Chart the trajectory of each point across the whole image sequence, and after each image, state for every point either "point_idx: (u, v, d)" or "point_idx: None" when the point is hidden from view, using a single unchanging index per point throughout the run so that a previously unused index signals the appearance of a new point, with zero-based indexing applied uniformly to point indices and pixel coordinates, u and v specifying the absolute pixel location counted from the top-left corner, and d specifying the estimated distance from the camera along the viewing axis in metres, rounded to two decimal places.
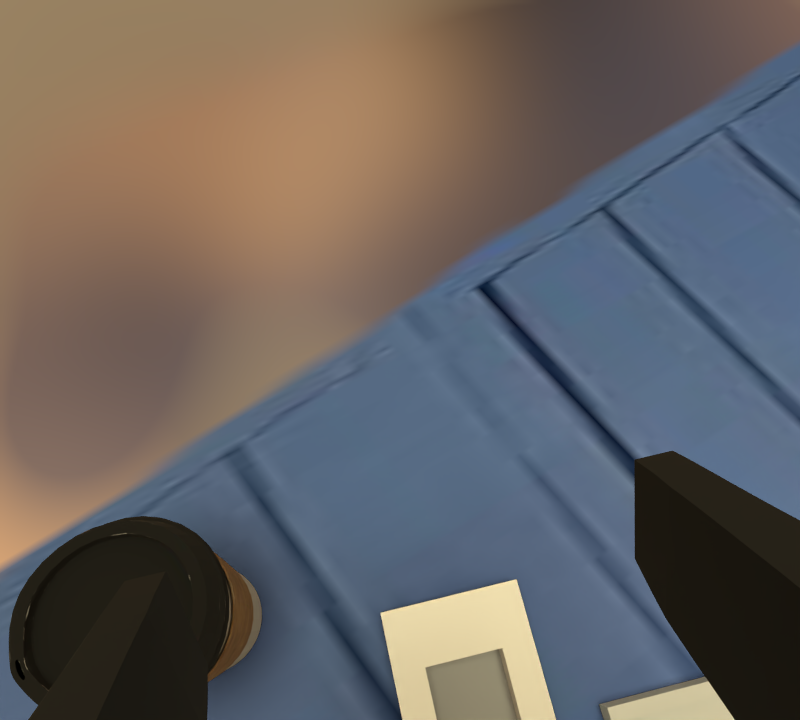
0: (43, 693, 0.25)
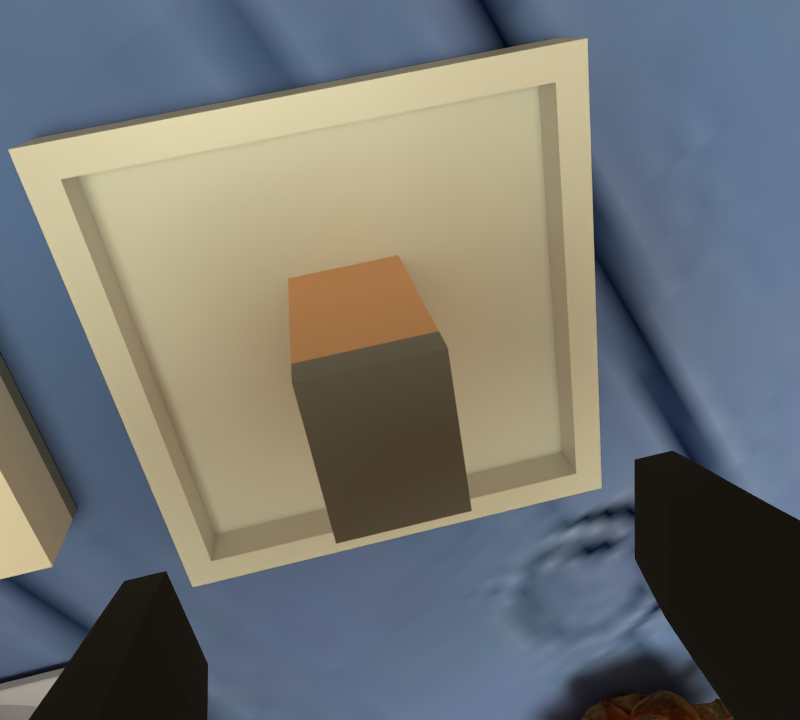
0: None
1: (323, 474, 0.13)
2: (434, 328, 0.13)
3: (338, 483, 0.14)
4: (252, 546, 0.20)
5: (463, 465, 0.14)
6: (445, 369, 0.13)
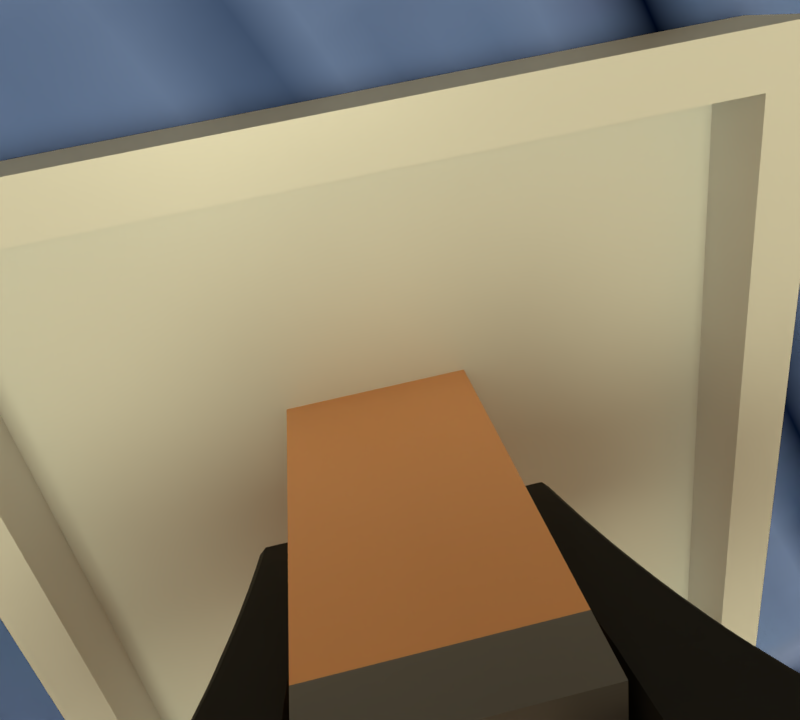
0: None
1: None
2: (579, 598, 0.07)
3: None
4: None
5: None
6: (617, 716, 0.06)
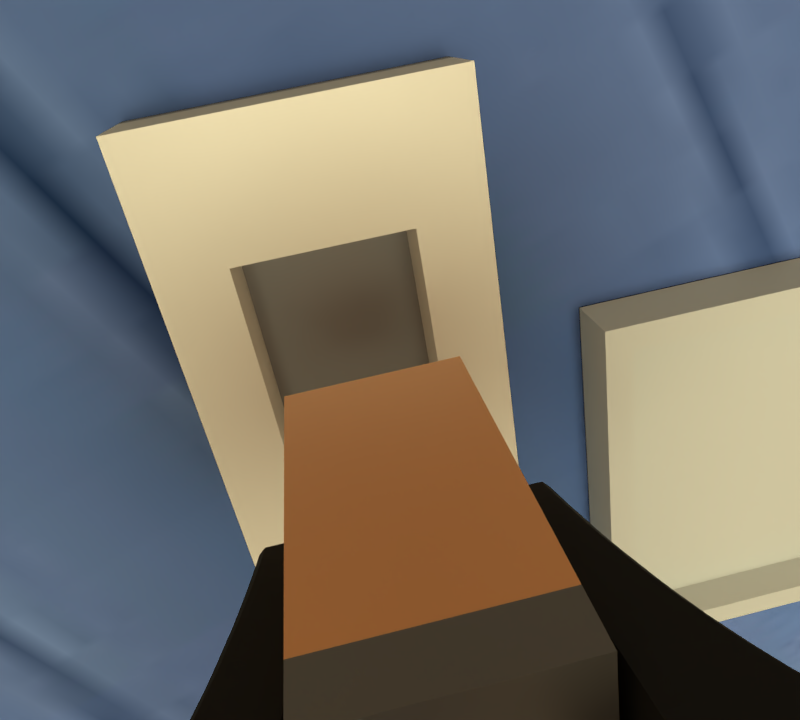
0: None
1: None
2: (570, 574, 0.07)
3: None
4: None
5: None
6: (607, 687, 0.06)
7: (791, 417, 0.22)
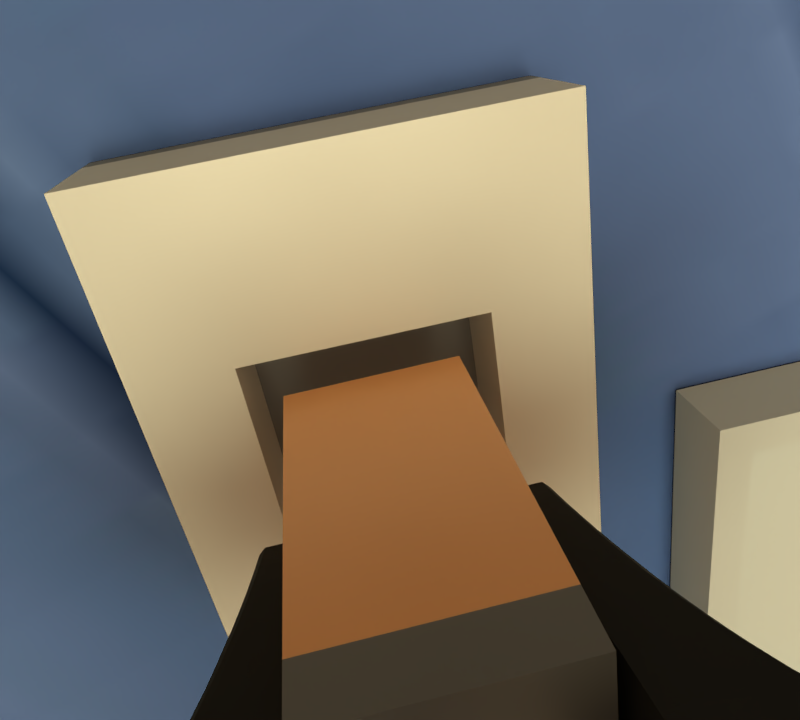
0: None
1: None
2: (569, 573, 0.07)
3: None
4: None
5: None
6: (606, 688, 0.06)
7: None
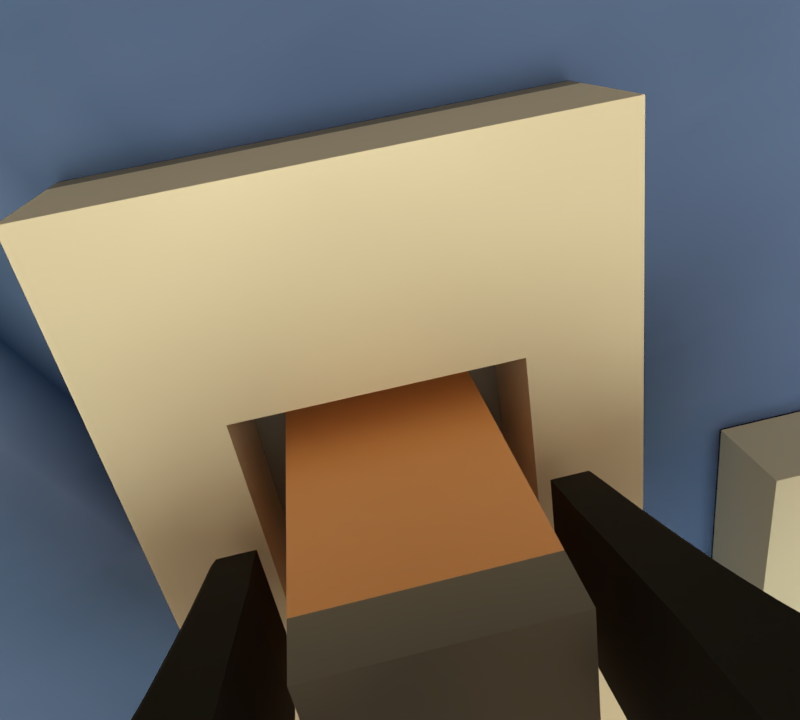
0: None
1: None
2: (553, 541, 0.07)
3: None
4: None
5: None
6: (587, 643, 0.07)
7: None
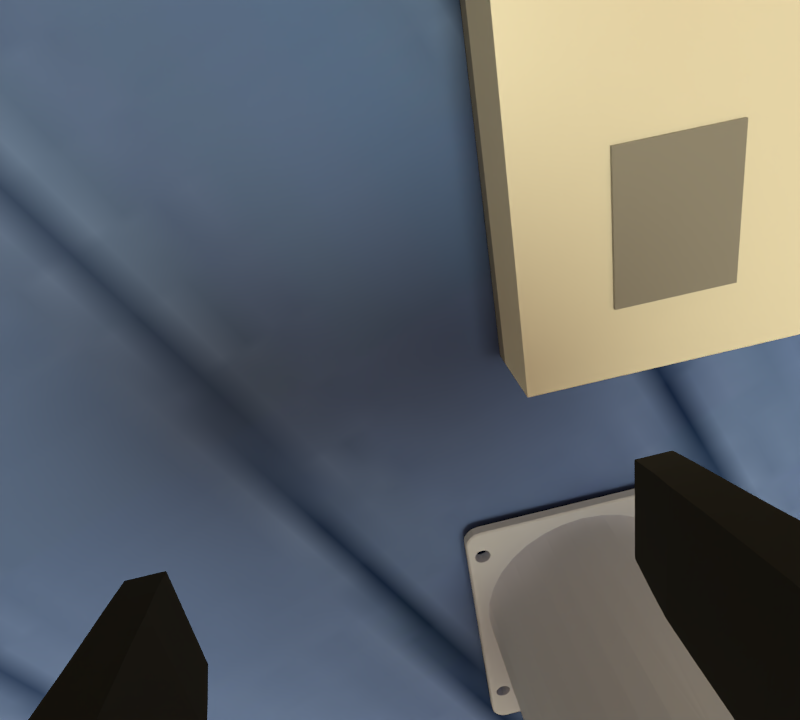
0: None
1: None
2: None
3: None
4: None
5: None
6: None
7: None
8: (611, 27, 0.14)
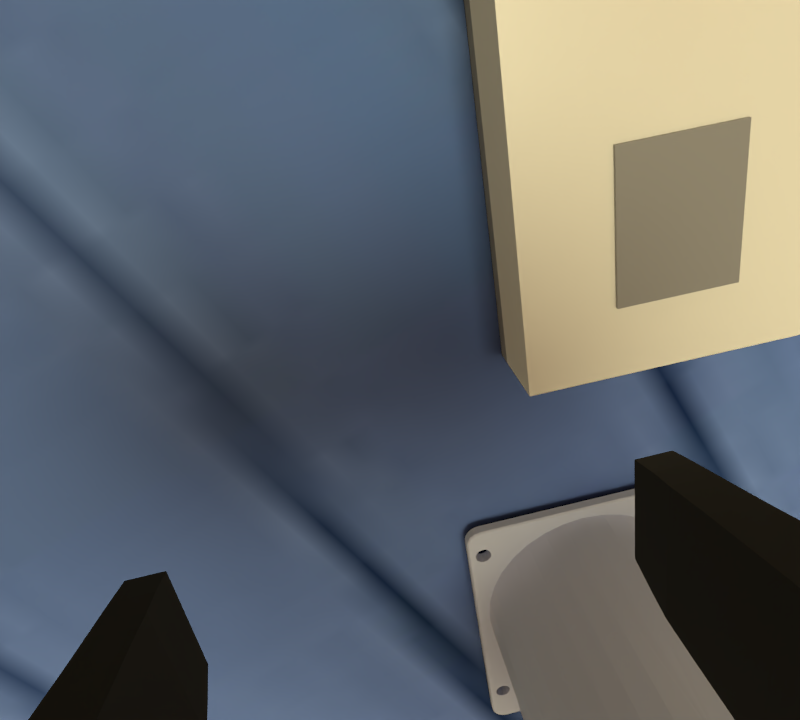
0: None
1: None
2: None
3: None
4: None
5: None
6: None
7: None
8: (615, 26, 0.14)
